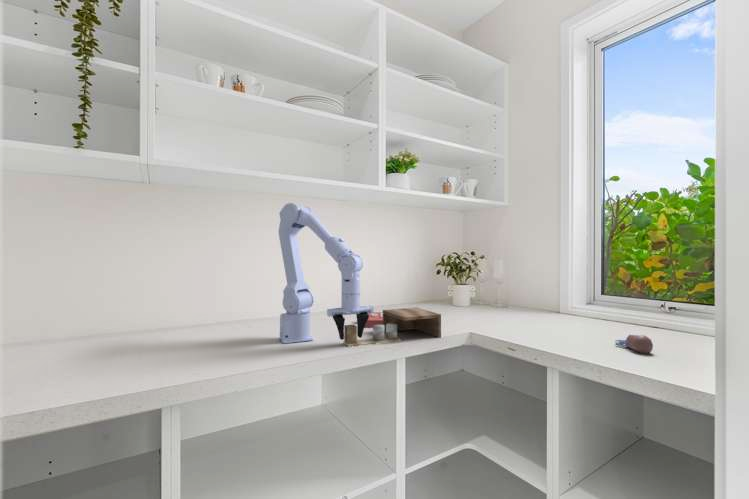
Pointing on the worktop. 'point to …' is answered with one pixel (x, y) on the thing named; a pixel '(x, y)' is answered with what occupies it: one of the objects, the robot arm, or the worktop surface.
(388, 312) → the wooden crate block
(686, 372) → the worktop surface
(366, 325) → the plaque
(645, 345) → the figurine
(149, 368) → the worktop surface
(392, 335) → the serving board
